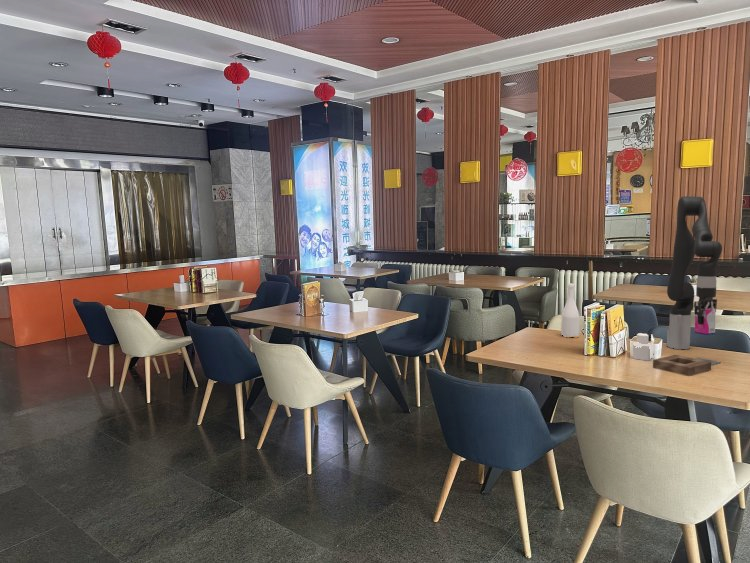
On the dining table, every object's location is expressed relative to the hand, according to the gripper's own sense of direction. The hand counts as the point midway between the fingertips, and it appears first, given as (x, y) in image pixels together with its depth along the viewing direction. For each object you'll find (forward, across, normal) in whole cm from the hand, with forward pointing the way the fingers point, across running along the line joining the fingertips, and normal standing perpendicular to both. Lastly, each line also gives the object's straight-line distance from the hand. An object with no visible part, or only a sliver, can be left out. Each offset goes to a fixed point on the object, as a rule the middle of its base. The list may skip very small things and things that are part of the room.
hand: (704, 323), depth 239 cm
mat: (+18, 0, 0) cm, 18 cm away
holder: (+18, +18, +1) cm, 26 cm away
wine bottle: (+18, +4, -71) cm, 73 cm away
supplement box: (+5, 0, 0) cm, 5 cm away
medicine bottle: (+18, +15, -19) cm, 30 cm away
